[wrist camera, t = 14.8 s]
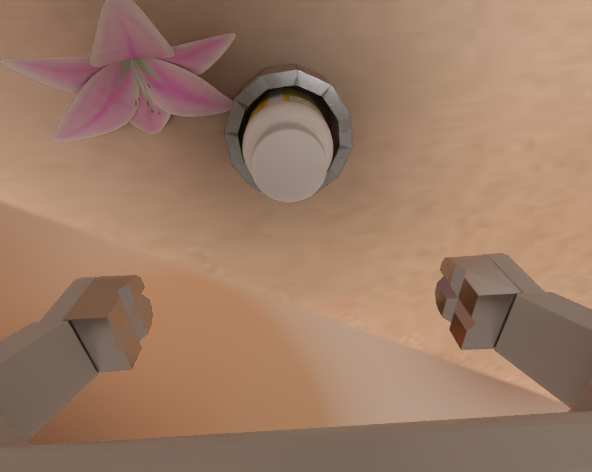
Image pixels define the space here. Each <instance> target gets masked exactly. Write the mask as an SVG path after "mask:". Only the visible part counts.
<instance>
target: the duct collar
mask: <svg viewBox="0 0 592 472" xmlns="http://www.w3.org/2000/svg"><path fill="white" fill-rule="evenodd" d="M292 85H297V86H300V87H302V88H304V89H306V90H309V91H311V92H313V93H315V94H318V95H320V96H322V97H323V98H324V100H325V101H326V103H327V104H328V106H329V107H330V114H331V127H332V131H331V136H332V141H333V156H332V160H331V164H330V166H329V168H328V170H327V173H326V177H325V180H324V182H323V184H322V185H321V187H320V188H319V189H318V190H317V191H316V192H315V193H317V192H318V191H319V190H321V189H322V188H324V187H325V186H327V185H328V184H329V183H331V182H332V181H334V180H335V179H336V178H337V177H338V176H339V174H340V172H341V170H342V168H343V166H344V164H345V162H346V160H347V158H348V156H349V154H350V152H351V150H352V130H351V115H350V113H349V111H348V110H347V108H346V107H345V105H344V104H343V102H342V100H341V99H340V97H339V96H338V94H337V93H336V91H335V90H334V88H333V87H332V85H331V84H330V83H329V82H328V81H327V80H326V79H325V78H324V77H323V76H321V75H319V74H317V73H315V72H313V71H310V70H308V69H306V68H304V67H302V66H300V65H297V64H296V65H295V64H290V65H284V66H277V67H270V68H265V69H264V70H263V71H262V72H260V73H259V74H258V75H257V76H256V77H255V78H254V79H253V80H251V81H250V82H249V83H248V84H247V85H246V86H245V87H244V88H242V90H241V91H240V92H239V94H238V95H237V96H236V98H235V99H234V101H233V105H232V108H231V111H230V115H229V118H228V122H227V125H226V128H225V132H224V135H225V139H226V143H227V147H228V151H229V155H230V159H231V164H232V166H233V167H234V168H235V169H236V170H237V172H238V173H239V174H240V175H241V176H242V177H243V178H244V179H245V180H246V181H247V182H248V184H249V185H250V186H251V187H252V188H254V189H255V190H258V191H260V192H262V191H261V190H260V189H259V188H258V187H257V185H256V183H255V182H254V179H253V177H252V175H251V173H250V172H249V170H248V168H247V166H246V163H245V161H244V157H243V149H242V148H243V137H244V133H245V130H246V125H245V120H244V119H245V116H246V113H247V109H248V106H249V105H250V104H251V103H252V102H253V101H254V100H255V99H257V98H258V97H259V96H260V95H261V94H262V93H264V92H265V91H266V90H267V89H272V88H279V87H285V86H292ZM315 193H314V194H315ZM314 194H313V195H314Z"/></svg>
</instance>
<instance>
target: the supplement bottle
mask: <svg viewBox="0 0 592 472" xmlns="http://www.w3.org/2000/svg"><path fill="white" fill-rule="evenodd" d="M242 149H243V157H244V161H245V163H246V166H247V168H248V170H249V172H250V173H251V175H252V177H253V179H254V182H255V183H256V185H257V187H258V188H259V189H260V190H261V191H262V192H263V193H264V194H265V195H266V196H268V197H269V198H272V199H274V200H276V201H280V202H286V203H292V202H298V201H302V200H304V199H307V198H308V197H310V196H312V195H313V194H314V193H315V192H316V191H317V190H318V189H319V188H320V187H321V185H322V184H323V182H324V180H325V177H326V173H327V170H328V168H329V166H330V164H331V160H332V156H333V141H332V136H331V133H330V130H329V127H328V125H327V123H326V121H325V119H324V117H323V115H322V113H321V112H320V110H319V108H318V106H317V104H316V102H315V101H314V100H313V99H312V98H311V97H310V96H309V95H308V94H307V93H306V92H304V91H302V90H300V89H298V88H295V87H290V86H285V87H279V88H273V89H271V90H269V91H267V92H266V93H264V94H263V95H262V96H261V97H260V98H259V99H258V101H257V102H256V104H255V105H254V107H253V109H252V112H251V115H250V118H249V121H248V124H247V127H246V130H245V133H244V137H243V148H242Z"/></svg>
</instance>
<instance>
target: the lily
mask: <svg viewBox="0 0 592 472" xmlns="http://www.w3.org/2000/svg"><path fill="white" fill-rule="evenodd" d="M234 39H235V33H227V34H223V35H219V36H214V37H210V38H206V39H202V40H197V41H193V42H189V43H185V44H180V45H176V46H170V45H169V43H168V42H167V41H166V40H165V38H164V37H163V36H162V35H161V33H160V32H159V31H158V29H157V28H156V27H155V26H154V24H153V23H152V22H151V21H150V19H149V18H148V17H147V16H146V15H145V13H144V12H143V11H142V10H141V9H140V7H139V6H138V5H137V4H136V3H135V2H134V1H133V0H105V2H104V4H103V6H102V9H101V13H100V17H99V21H98V25H97V30H96V34H95V39H94V44H93V48H92V52H91V56H86V57H34V58H5V59H2V60H0V61H1V62H2V64H3V65H4V66H6V67H8V68H9V69H11V70H13V71H15V72H16V73H18V74H21V75H23V76H25V77H27V78H30V79H32V80H34V81H36V82H39V83H41V84H44V85H47V86H49V87H52V88H55V89H58V90H62V91H65V92H69V93H78V94H77V96H76V97H75V99H74V100H73V102H72V104H71V105H70V107H69V109H68V110H67V112H66V114H65V116H64V117H63V119H62V121H61V122H60V123H59V125H58V126H57V128H56V129H55V131H54V132H53V134H52V136H51V139H50V140H51V141H52V142H56V143H63V142H72V141H78V140H84V139H89V138H93V137H97V136H101V135H104V134H107V133H110V132H112V131H115V130H118V129H119V128H121V127H122V126H124V125H125V124H127V123H128V122H129V123H131V124H132V125H133V126H135V127H136V128H138V129H139V130H141V131H143V132H145V133H148V134H151V135H152V134H156V133H159V132H160V131H161V130H162V129H163V128H164V126H165V125H166V123H167V122H168V120H169V118H170V115H171V114H172V115H177V116H182V117H200V116H208V115H214V114H219V113H224V112H227V111H231V108H232V105H233V101H232V100H231V99H229V98H228V97H227V96H225V95H224V94H222V93H221V92H219V91H218V90H217V89H216V88H214V87H213V86H212V85H210V84H209V83H207V82H206V81H205V80H203V79H202V78H200V77H198V76H197V75H200V74H202V73H203V72H205V71H206V70H207V69H209V68H210V67H211V66H212V65H213V64H214V63H215V62H216V61H217V60H218V59H219V58H220V57H221V56H222V55H223V54H224V52H225V51H226V50H227V49H228V48H229V46H230V45H231V43H232V42H233V40H234Z"/></svg>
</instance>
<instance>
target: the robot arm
mask: <svg viewBox="0 0 592 472" xmlns="http://www.w3.org/2000/svg"><path fill="white" fill-rule="evenodd" d="M440 271H441V272H442V274H443V275H444V277H443V278H442V279H441V280H439V281H438V282H437V285H436V291H435V297H436V304H437V307H438V310H439V312H440V314H441V316H442V317H443V318H445V319H446V320H448V321H450V322H451V325H450V329H449V330H450V332H451V333H452V335H453V337H454V339H455V340H456V342H457V344H458V346H459V347H460V349H461V350H470V349H495V351H496V352H497V353H499V354H500V355H501V356H503V357H504V358H505V359H507V360H508V361H509V362H511V363H512V364H513V365H514V366H516V367H517V368H518V369H520V370H521V371H522V372H524V373H525V374H526V375H528V376H529V377H530V378H531V379H533V380H534V381H535V382H537V383H538V384H539V385H541V386H542V387H543V388H545V389H546V390H547V391H549V392H550V393H551V394H552V395H554V396H555V397H556V398H558V399H559V400H560V401H562V402H563V403H564V404H566V405H567V406H568V407H570V410H569V411H568V412H563V413H547V414H530V415H514V416H498V417H484V418H466V419H451V420H435V421H419V422H404V423H388V424H372V425H357V426H340V427H326V428H308V429H292V430H276V431H259V432H242V433H227V434H210V435H194V436H177V437H161V438H145V439H130V440H113V441H96V442H80V443H65V444H48V445H33V446H29V445H28V443H27V441H28V440H29V439H30V438H31V437H32V436H33V435H34V434H35V433H36V432H37V431H39V430H40V429H41V428H42V427H43V426H44V425H45V424H46V423H47V422H48V421H49V420H50V419H51V418H52V417H53V416H54V415H55V414H57V412H58V411H60V410H61V409H62V408H63V407H64V406H65V405H66V404H67V403H68V402H69V401H70V400H71V399H72V398H73V397H75V396H76V395H77V394H78V393H79V392H80V391H81V390H82V389H83V388H84V387H85V386H86V385H87V384H88V383H89V382H90V381H92V379H94V378H95V377H96V376H97V374H98V372H110V371H121V370H132V368H133V366H134V364H135V362H136V360H137V357H138V355H139V353H140V351H141V348H142V347H141V345H140V342H139V341H140V340H141V339H142V338H144V337H145V336H146V335H147V334H148V332H149V330H150V328H151V324H152V317H153V313H152V306H151V303H150V300H149V299H148V298H146V297H145V296H144V295H142V294H141V293H142V291H143V289H144V284H143V282H142V280H141V278H140V277H138V276H137V275H129V276H128V275H126V276H100V277H81V278H78V279H75V280H74V281H73V282H72V284H71V285H70V286H69V287H68V288H67V289H66V291H65V292H64V293H63V294H62V296H61V297H60V298H59V299H58V300H57V301H56V302H55V304H54V305H53V306H52V307H51V308H50V310H49V311H48V312H47V313H46V314H45V315H44V317H43V318H42V319H41V320H40V321H39V322H34V323H31V324H29V325H27V326H26V327H24V328H22V329H20V330H19V331H17V332H15V333H13V334H12V335H10V336H8V337H6V338H5V339H3V340H1V341H0V472H592V310H591V309H589V308H587V307H584V306H582V305H580V304H578V303H575V302H573V301H571V300H569V299H566V298H564V297H562V296H559V295H557V294H555V293H553V292H544V291H543V290H542V289H541V288H540V287H539V286H538V285H537V284H536V283H535V282H534V281H533V280H532V279H531V278H530V277H529V276H528V275H527V274H526V273H525V272H524V271H523V270H522V269H521V268H520V267H519V266H518V265H517V264H516V263H515V262H514V261H513V260H512V259H511V258H510V257H509V256H508V255H506V254H503V253H496V254H484V255H479V256H463V257H447V258H444V260H443V261H442V264H441V268H440Z"/></svg>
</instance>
